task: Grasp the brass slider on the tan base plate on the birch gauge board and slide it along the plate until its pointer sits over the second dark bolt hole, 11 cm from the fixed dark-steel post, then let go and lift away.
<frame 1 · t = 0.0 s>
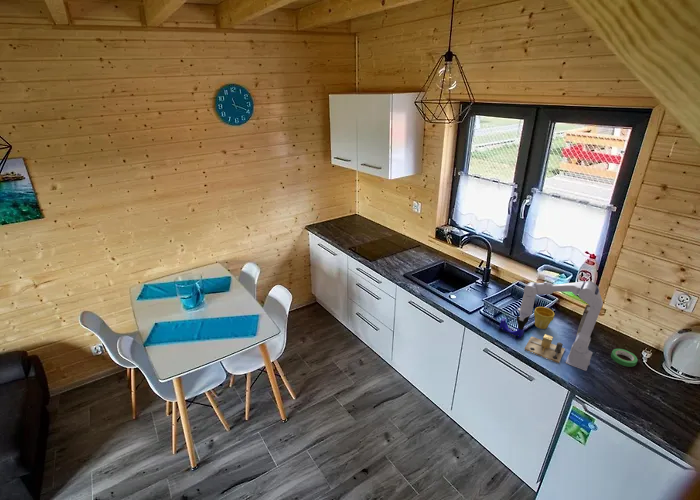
hand: (522, 325, 212), 10 cm above the worktop, tool pointing down, fingers open, 7 cm apart
tape roll: (623, 359, 204), on the worktop
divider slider: (545, 344, 207), point 4 cm above the worktop, slide at 2.0 cm
tan base plate: (544, 349, 209), on the worktop
plant pot: (540, 326, 229), on the worktop
cable clip: (510, 332, 224), on the worktop
coffee box: (583, 334, 222), on the worktop
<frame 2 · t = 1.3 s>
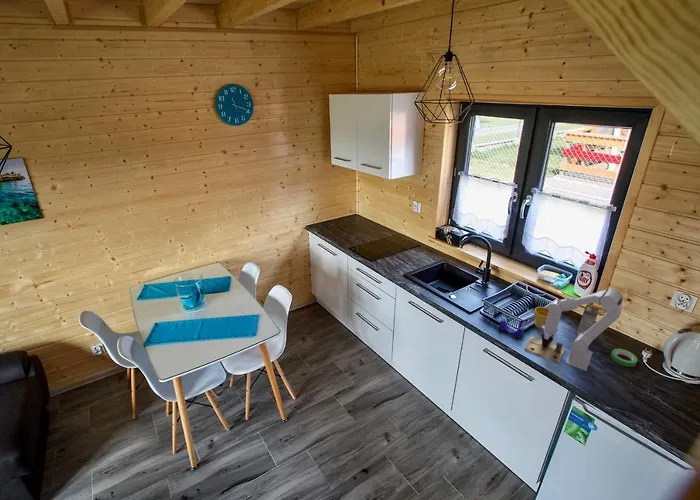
hand: (546, 343, 209), 3 cm above the worktop, tool pointing down, fingers open, 7 cm apart
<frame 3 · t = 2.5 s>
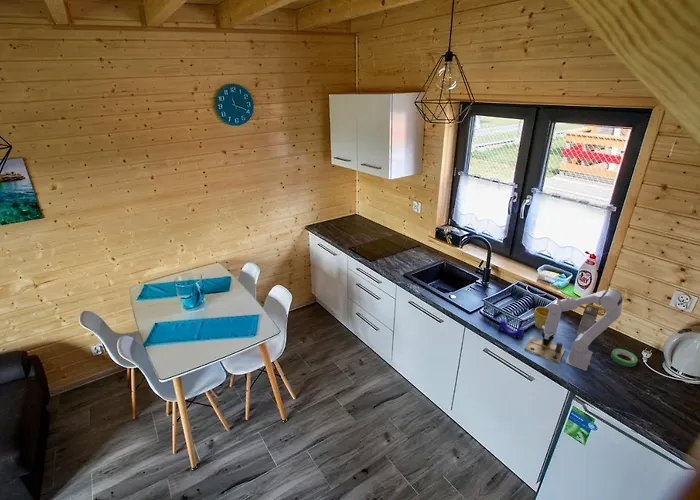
hand: (546, 343, 209), 3 cm above the worktop, tool pointing down, fingers closed on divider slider, 3 cm apart
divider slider: (545, 344, 207), point 4 cm above the worktop, slide at 2.0 cm, touching gripper
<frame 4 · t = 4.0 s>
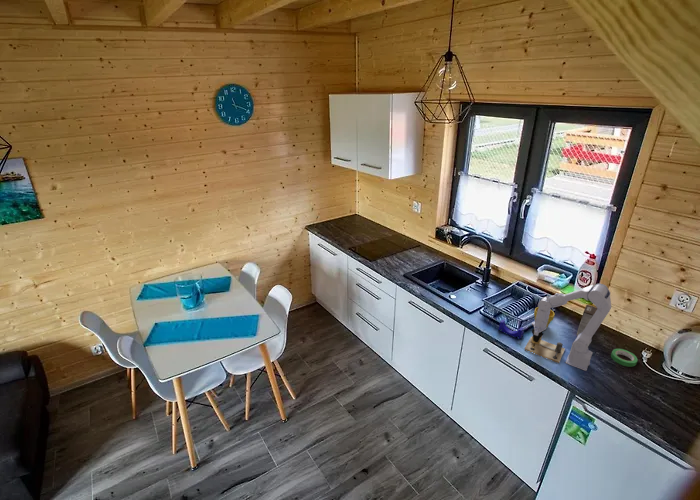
hand: (536, 339, 212), 3 cm above the worktop, tool pointing down, fingers closed on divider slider, 3 cm apart
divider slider: (535, 340, 210), point 4 cm above the worktop, slide at 7.0 cm, touching gripper
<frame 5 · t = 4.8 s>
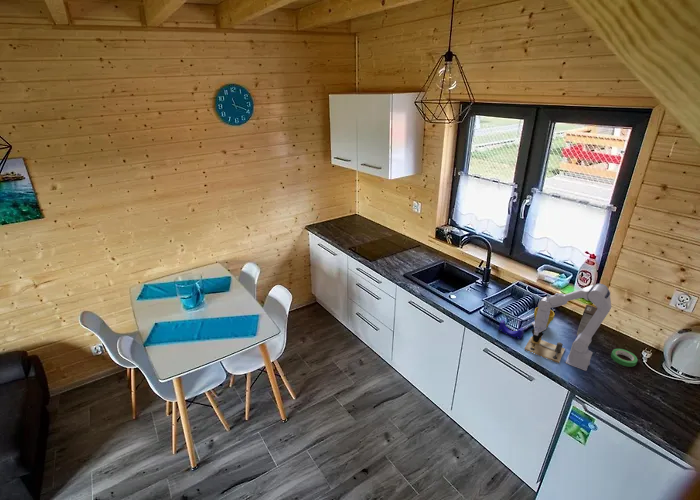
hand: (536, 339, 212), 3 cm above the worktop, tool pointing down, fingers closed on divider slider, 3 cm apart
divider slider: (535, 340, 210), point 4 cm above the worktop, slide at 7.0 cm, touching gripper
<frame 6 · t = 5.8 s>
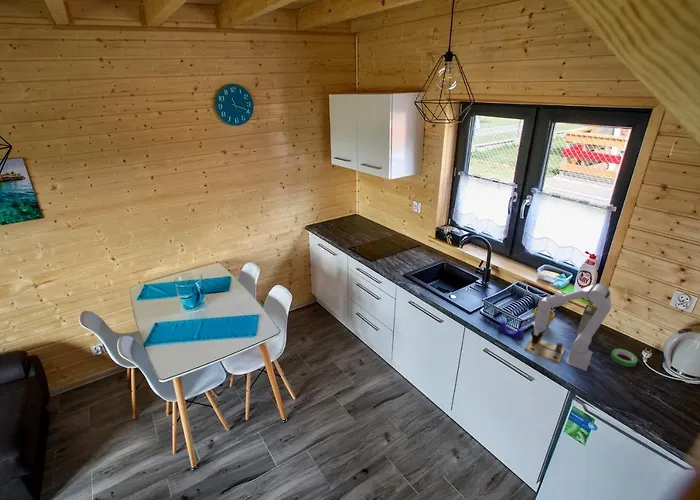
hand: (536, 339, 212), 3 cm above the worktop, tool pointing down, fingers open, 7 cm apart
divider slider: (535, 340, 210), point 4 cm above the worktop, slide at 7.0 cm
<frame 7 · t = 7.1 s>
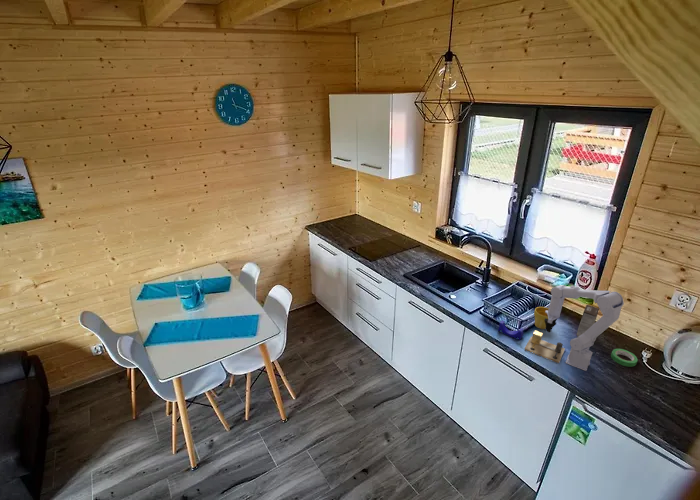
hand: (549, 327, 211), 9 cm above the worktop, tool pointing down, fingers open, 7 cm apart
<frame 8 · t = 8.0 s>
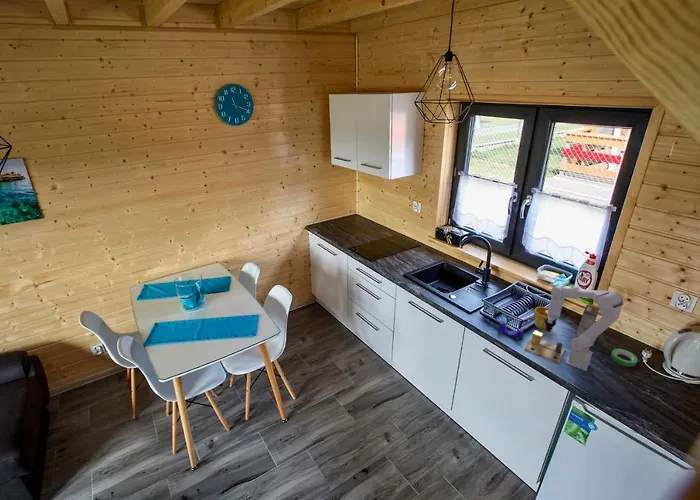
hand: (549, 327, 211), 9 cm above the worktop, tool pointing down, fingers open, 7 cm apart
at the end: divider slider slide at 7.0 cm; the gripper is holding nothing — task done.
